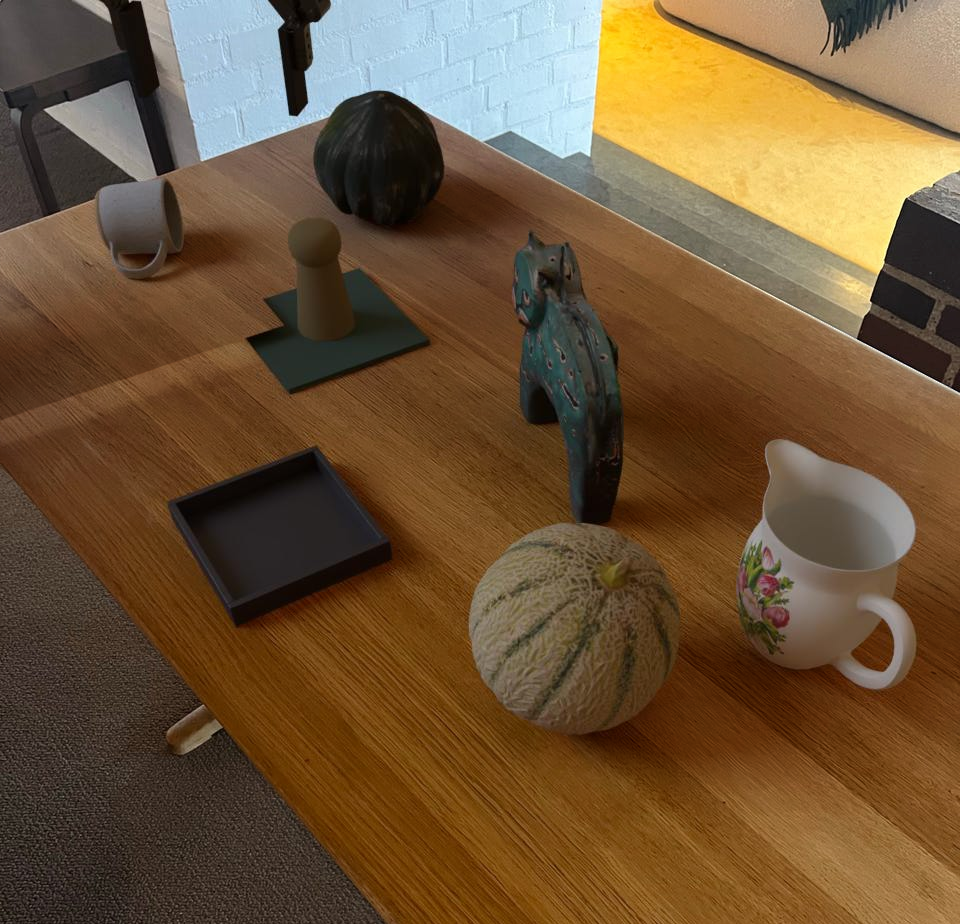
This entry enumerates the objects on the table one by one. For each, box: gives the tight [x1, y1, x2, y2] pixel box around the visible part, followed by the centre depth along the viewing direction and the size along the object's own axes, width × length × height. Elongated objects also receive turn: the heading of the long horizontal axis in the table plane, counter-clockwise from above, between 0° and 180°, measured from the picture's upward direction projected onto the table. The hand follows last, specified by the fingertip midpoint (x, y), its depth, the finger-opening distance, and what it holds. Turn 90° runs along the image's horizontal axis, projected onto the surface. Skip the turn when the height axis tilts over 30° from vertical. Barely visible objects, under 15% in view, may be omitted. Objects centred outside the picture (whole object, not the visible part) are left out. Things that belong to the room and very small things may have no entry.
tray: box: [166, 444, 393, 628], centre depth 84 cm, size 14×14×2 cm
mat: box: [245, 267, 431, 395], centre depth 104 cm, size 16×16×1 cm
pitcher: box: [735, 438, 917, 691], centre depth 72 cm, size 11×18×14 cm, turn 24°
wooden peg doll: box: [287, 217, 355, 341], centre depth 100 cm, size 6×6×11 cm
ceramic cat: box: [511, 229, 625, 525], centre depth 84 cm, size 20×6×20 cm, turn 14°
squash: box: [312, 89, 445, 228], centre depth 115 cm, size 14×15×15 cm
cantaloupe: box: [468, 522, 681, 736], centre depth 69 cm, size 15×15×15 cm
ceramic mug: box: [93, 177, 185, 280], centre depth 111 cm, size 11×8×8 cm
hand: (223, 100), depth 85 cm, fingers open, 13 cm apart
